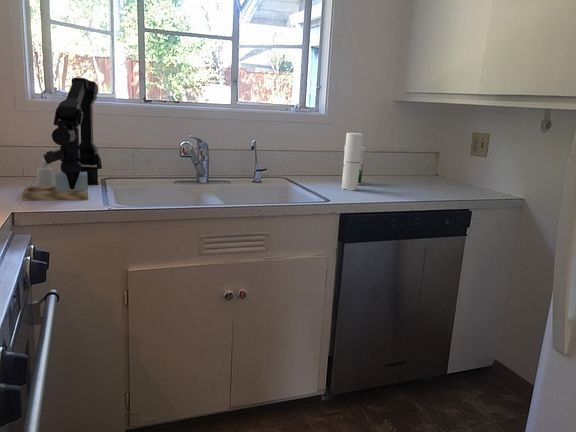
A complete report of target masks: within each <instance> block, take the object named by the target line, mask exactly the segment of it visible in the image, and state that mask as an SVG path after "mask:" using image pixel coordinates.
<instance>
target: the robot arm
mask: <svg viewBox="0 0 576 432" xmlns="http://www.w3.org/2000/svg"><path fill="white" fill-rule="evenodd" d="M98 94H99V84H98V83H96V82H95V80H89V79H88V78H85V77H72V78H71V86H70V88H69V91H68V93H67V96H66V98H65V99H64V100H63V101H60V103H59V104H58V106H57V107H56V108H55V113H54V120H53V126H57V128H55V129H54V130H53V131H52V133H51V139H52V141H53V143H54V144H56V145H57V146H60V147H59V149H54V150H49V151H46V152H45V153H44V154H43V155H42V156H43V157H44V159H45V161H46V163H47V164H48V165H50V164H52V163H54V162H57V161H59V160H60V162H61V163H60V172H63V173H65V174H66V175H67V179H68V182H69V186H70V189H74V187H75V184H76V182H77V179H78V177H79V174H80V172H87V183H88V186H89V185H91V186H92V185H99V174H98V173H99V171H98V170H102V169H103V164H102V158H101V156H100V153H99V151H98V150H99V149H98V148H97V145H96V144H95V143H94V119H93V118H94V117H93V116H94V115H93V114H94V113H93V110H94V108H93V105H94V103H95V102H96V101H97V98H98V96H97V95H98ZM79 127H80V129H79Z"/></svg>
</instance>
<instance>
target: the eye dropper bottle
mask: <svg viewBox="0 0 576 432" xmlns="http://www.w3.org/2000/svg"><path fill="white" fill-rule="evenodd" d="M49 166H50V164H47V163H46V161H45V159H44V156H43V157H42V160H40V167H38V168H37V169H36V186H55V174H54V173H55V171H54V169H53V168H52V167H49Z"/></svg>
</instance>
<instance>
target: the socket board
mask: <svg viewBox="0 0 576 432" xmlns="http://www.w3.org/2000/svg"><path fill="white" fill-rule="evenodd" d="M21 195H22V199H21V200H22V201H23V202H24V201H25V202H26V201H28V202H29V201H32V202H33V201H73V200H74V201H77V200H78V201H79V200H82V201H84V200H89V190H88V191H56V185H54V186H37V185H35V186H34V185H33V186H32V185H31V186H30V185H29V186H25V187H24V189H23V191H22V193H21Z"/></svg>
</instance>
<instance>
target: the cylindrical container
mask: <svg viewBox="0 0 576 432" xmlns="http://www.w3.org/2000/svg"><path fill="white" fill-rule="evenodd" d="M363 135H364V134H363V133H360V132H358V133H357V132H346V137H345V144H344V146H345V156H343V164H344V167H343V166H342V175H343V178H342V177H341V178H342V179H341V189H342V188H345V189H357V190H358V187H359V186H358V178H359V168H360V158H361V148H362V147H363Z"/></svg>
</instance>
